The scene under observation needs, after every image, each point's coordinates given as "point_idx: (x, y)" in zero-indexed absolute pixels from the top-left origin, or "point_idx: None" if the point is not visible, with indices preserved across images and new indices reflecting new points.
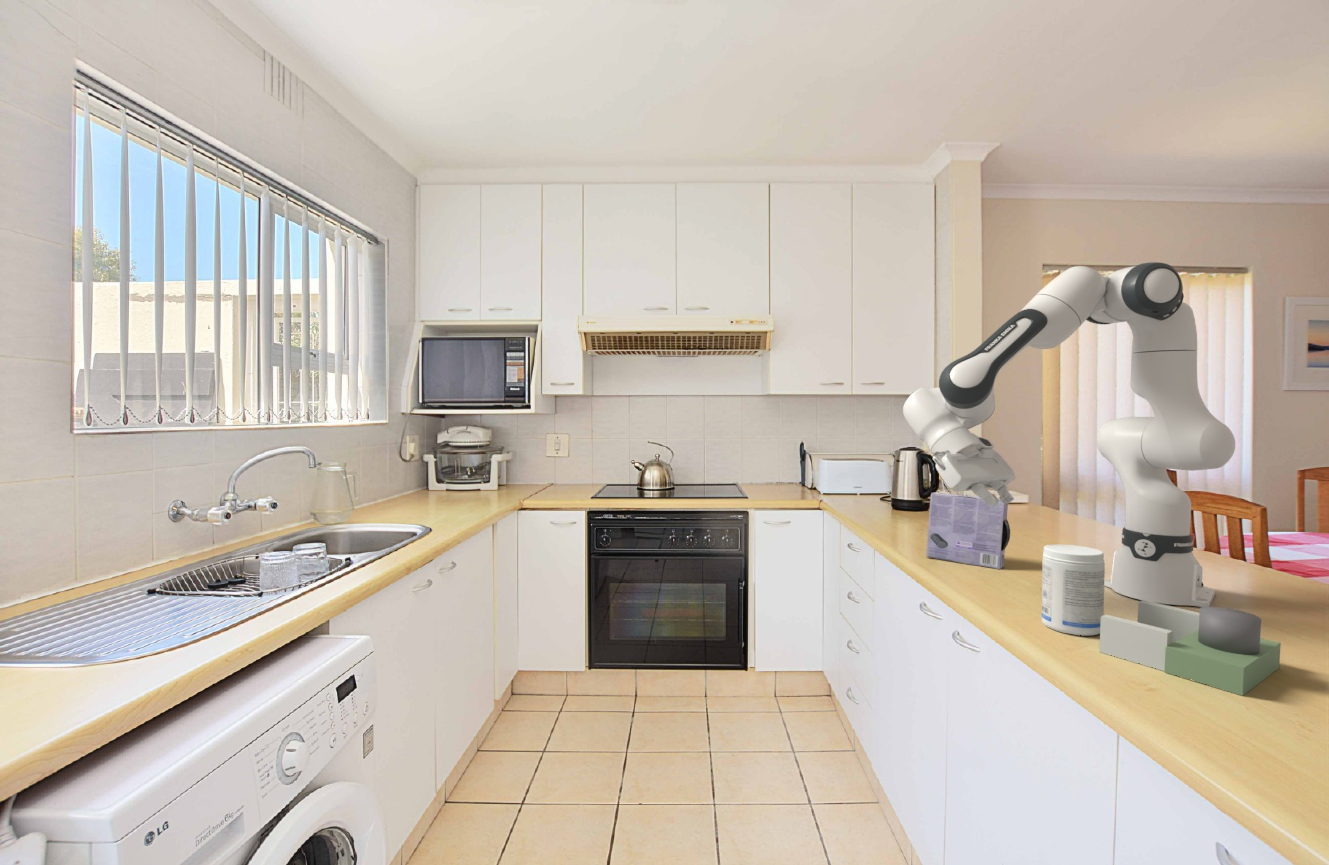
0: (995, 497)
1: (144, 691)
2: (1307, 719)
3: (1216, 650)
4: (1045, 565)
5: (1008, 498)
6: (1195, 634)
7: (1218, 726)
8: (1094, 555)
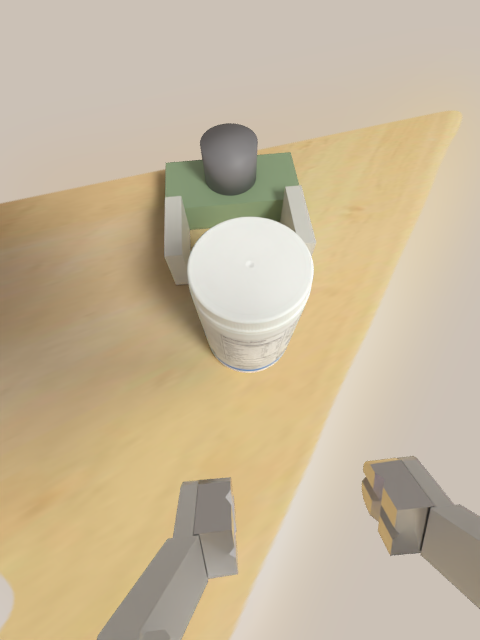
0: (399, 477)
1: None
2: (288, 147)
3: (260, 175)
4: (300, 314)
5: (231, 489)
6: (220, 202)
7: (372, 164)
8: (266, 218)
